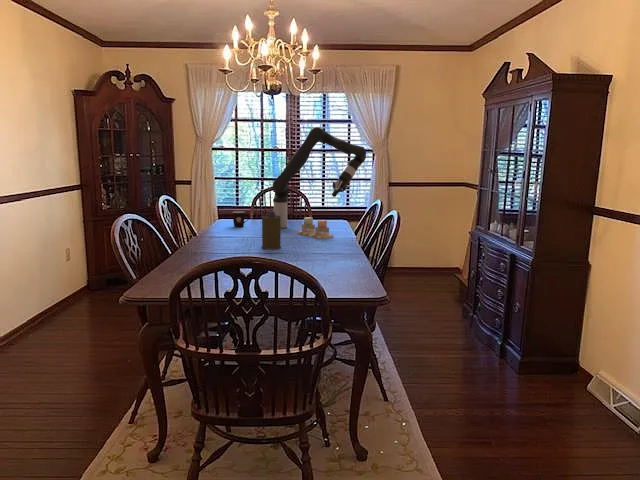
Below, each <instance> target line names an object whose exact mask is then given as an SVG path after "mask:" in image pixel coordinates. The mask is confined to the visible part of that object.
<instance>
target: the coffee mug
mask: <svg viewBox="0 0 640 480" xmlns="http://www.w3.org/2000/svg"><path fill="white" fill-rule="evenodd" d="M246 216H249V218H248V219H246V220H245V217H246ZM251 218H252V216H251V214H249V213H246V211H240V210H237V211H232V219H233V226H234V228H244V225H245V223H247V222H248V221H249V220H250V219H251Z"/></svg>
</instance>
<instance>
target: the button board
mask: <svg viewBox="0 0 640 480" xmlns="http://www.w3.org/2000/svg"><path fill="white" fill-rule="evenodd" d="M296 234H299V235H303V236H307V237H309V238H310V237H311V238H315V239H319V240H324V239H333V238H334V234H330V227H329V226H327V228H318V226H316V224H314V223H313V225H304V223H302V224H301V230H297V231H296Z"/></svg>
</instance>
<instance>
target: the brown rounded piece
mask: <svg viewBox="0 0 640 480" xmlns="http://www.w3.org/2000/svg"><path fill="white" fill-rule="evenodd" d="M317 227H318V228H327V227H328V221H327V219H326V220H325V219H321V220H320V219H318V220H317Z"/></svg>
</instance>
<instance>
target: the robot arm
mask: <svg viewBox="0 0 640 480" xmlns="http://www.w3.org/2000/svg"><path fill="white" fill-rule="evenodd" d="M317 143H322V144H325V145H328V146H330V147H333V149H336V150H337V151H339V152H341V153H344V154H346V155H348V156H349V155H350V156H351V155H354V157H353V158H352V159H350V160H349V162H348V163H347V165H345V167H344V168H343V170H342V171H341V173H340V174H339V176H338V179H337V180H336V181H332V189H333V192H331V196H332V197H333V198H336V196H337V195H338V194H339V193H343V192H344V191H346V190H347V189H349V185H348V184H350V182H351V181H352V179H353V177H354V176H355V174H356V172H357V170H358V169H359V168H360V167H361V166H362V164H363V163H364V162H365V161H366V158H367V149H365V148H364V146H361V145H357V144H352V143H350V142H348V141H345V140H343V139H340V138H339V137H335V136H333V135H332V134H330V133H329V132H327V131H326V130H324V129H323V128H322V127H318V126H316V127H313V128H312V129H311V130H310V131H309V133H308V134H307V137H306V138H305V139H304V140H303V143H302V144H301V145H300V146H299V148H298V149H297V150H296V152H295V153H294V154H293V156H292V157H291V158H290V160H288V162H287V164H286V166H285V167H284V169H283V170H282V172H281V173H280V174H279V175H278V177H276V178H275V179H274V181H273V183H272V189H273V191H274V197H273V211H274V212H275V215H278V216H281V223H280V229H283V228H288V199H289V182H290V181H291V179H292V178H293V177H294V176H296V174H297V173H299V171H300V170H302V168H303V167H304V165H305V164H306V163H307V161H308V159H309V157H310V155H311V152H312V151H313V149H314V148H315V146H316V145H317Z"/></svg>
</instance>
